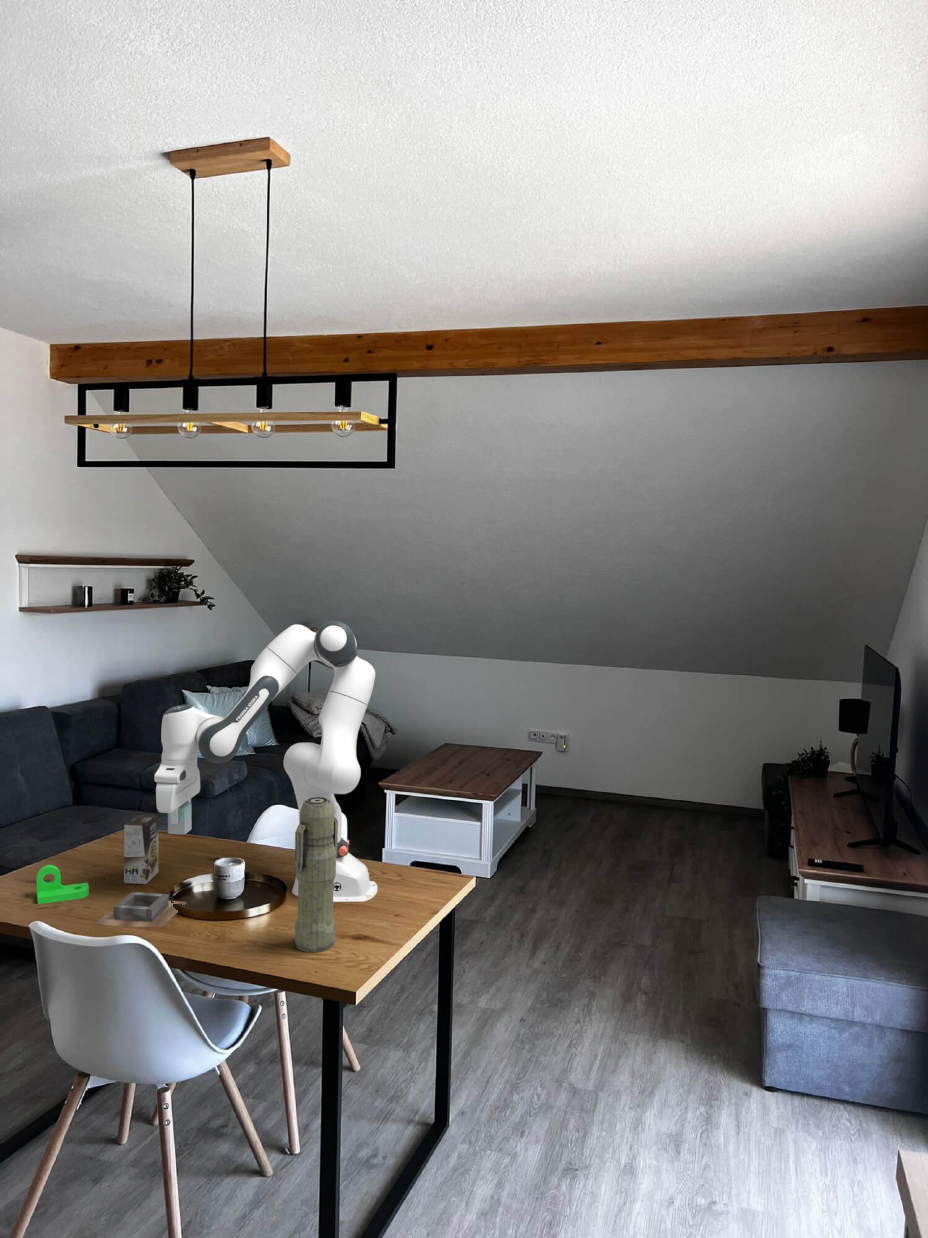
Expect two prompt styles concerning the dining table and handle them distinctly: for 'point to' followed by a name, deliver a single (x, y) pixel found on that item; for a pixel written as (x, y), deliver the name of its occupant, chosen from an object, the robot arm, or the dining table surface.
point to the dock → (141, 911)
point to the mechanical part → (57, 887)
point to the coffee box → (141, 849)
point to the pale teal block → (181, 820)
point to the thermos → (315, 875)
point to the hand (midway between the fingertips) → (179, 819)
